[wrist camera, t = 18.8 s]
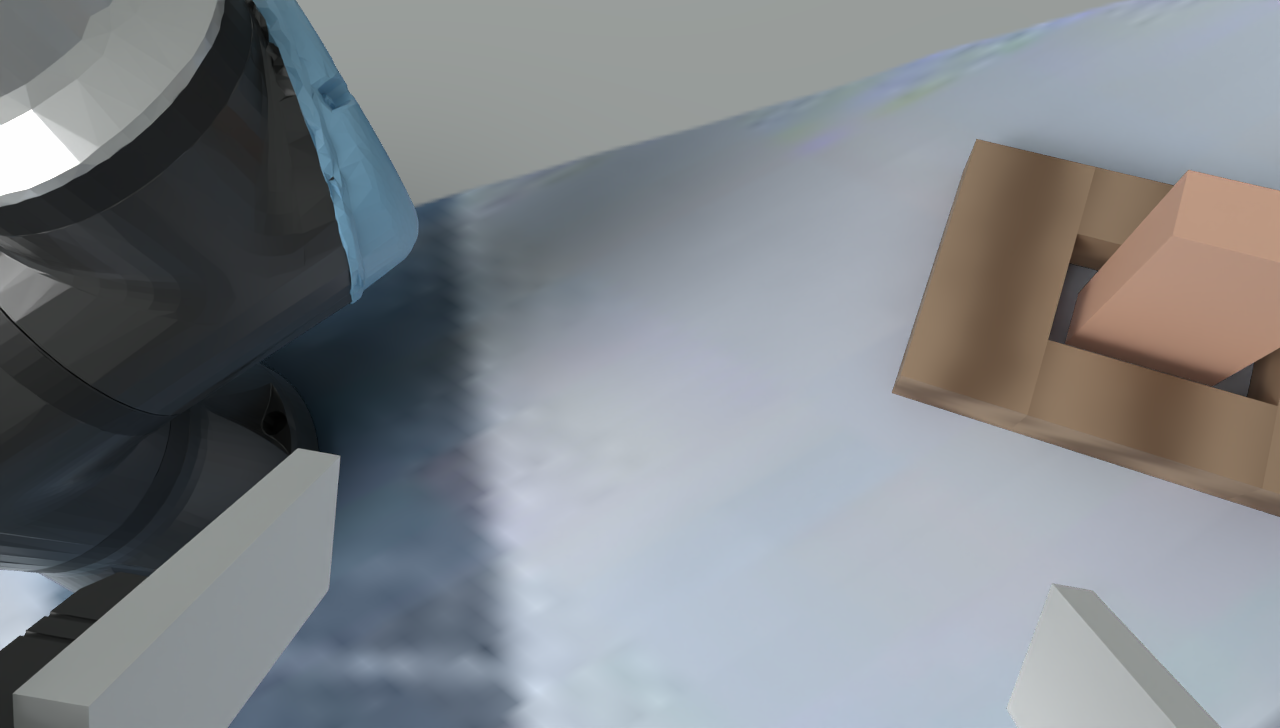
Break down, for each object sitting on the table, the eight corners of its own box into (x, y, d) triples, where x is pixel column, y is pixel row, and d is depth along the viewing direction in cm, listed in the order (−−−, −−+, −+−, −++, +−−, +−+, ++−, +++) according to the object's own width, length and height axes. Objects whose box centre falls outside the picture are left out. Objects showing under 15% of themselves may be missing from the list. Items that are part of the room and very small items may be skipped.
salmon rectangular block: (1064, 343, 42) (1172, 235, 31) (1078, 293, 43) (1188, 169, 32) (1212, 386, 40) (1383, 288, 29) (1223, 333, 41) (1394, 217, 30)
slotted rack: (891, 392, 43) (900, 375, 40) (963, 169, 46) (976, 138, 43) (1370, 545, 37) (1419, 537, 34) (1411, 279, 41) (1459, 252, 38)
